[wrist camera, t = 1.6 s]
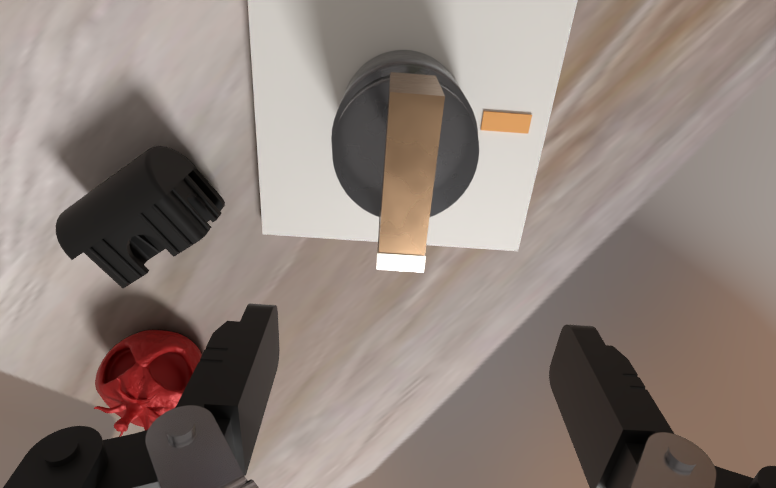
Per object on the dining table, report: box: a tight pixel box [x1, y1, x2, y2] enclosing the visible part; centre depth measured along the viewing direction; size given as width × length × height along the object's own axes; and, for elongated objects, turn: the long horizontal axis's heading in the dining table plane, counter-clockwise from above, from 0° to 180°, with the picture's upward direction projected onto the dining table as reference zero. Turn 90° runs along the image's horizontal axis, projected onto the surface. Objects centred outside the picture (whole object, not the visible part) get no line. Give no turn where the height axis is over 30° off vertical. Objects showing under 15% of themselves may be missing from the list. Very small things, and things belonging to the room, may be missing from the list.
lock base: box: [248, 0, 577, 251], centre depth 33 cm, size 22×22×9 cm
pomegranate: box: [94, 330, 202, 437], centre depth 45 cm, size 10×10×9 cm
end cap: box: [56, 146, 225, 288], centre depth 38 cm, size 10×7×7 cm
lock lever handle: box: [332, 72, 479, 273], centre depth 26 cm, size 9×8×7 cm
